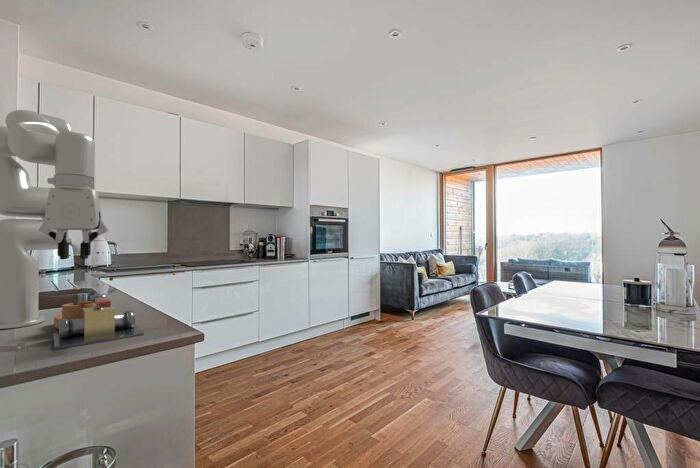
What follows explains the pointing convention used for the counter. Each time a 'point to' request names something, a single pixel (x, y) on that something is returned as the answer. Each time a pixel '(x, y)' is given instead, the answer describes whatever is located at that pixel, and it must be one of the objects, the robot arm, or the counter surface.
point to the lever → (101, 300)
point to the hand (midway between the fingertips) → (74, 258)
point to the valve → (96, 327)
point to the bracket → (72, 311)
